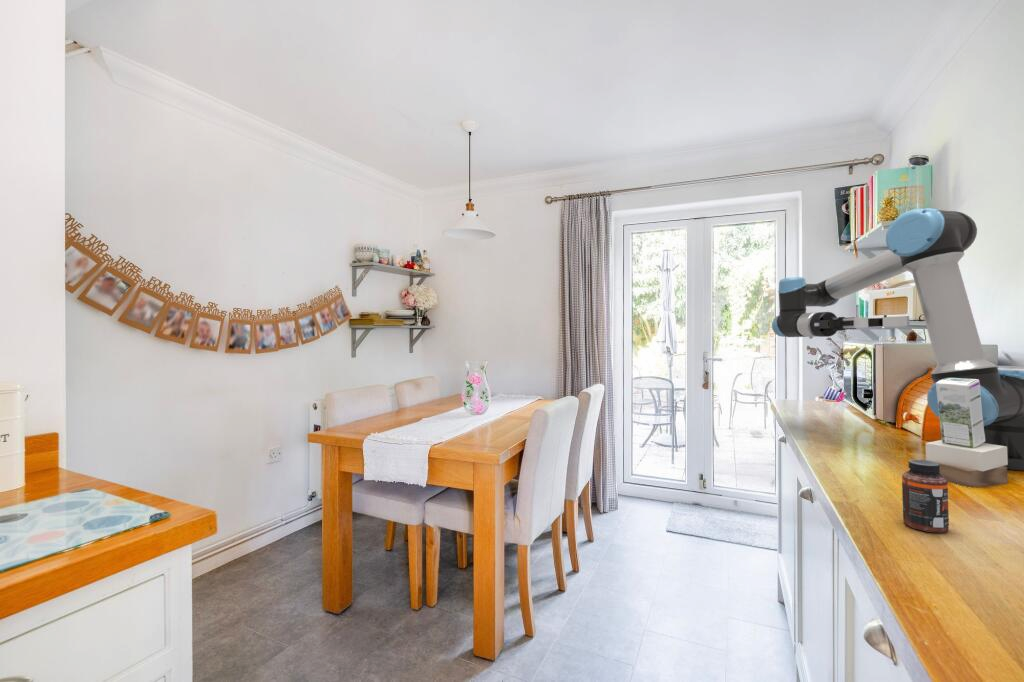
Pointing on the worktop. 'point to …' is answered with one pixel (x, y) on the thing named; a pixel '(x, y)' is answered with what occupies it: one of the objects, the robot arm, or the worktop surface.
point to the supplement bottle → (925, 497)
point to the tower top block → (967, 455)
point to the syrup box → (960, 412)
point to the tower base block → (973, 476)
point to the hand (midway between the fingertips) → (888, 321)
